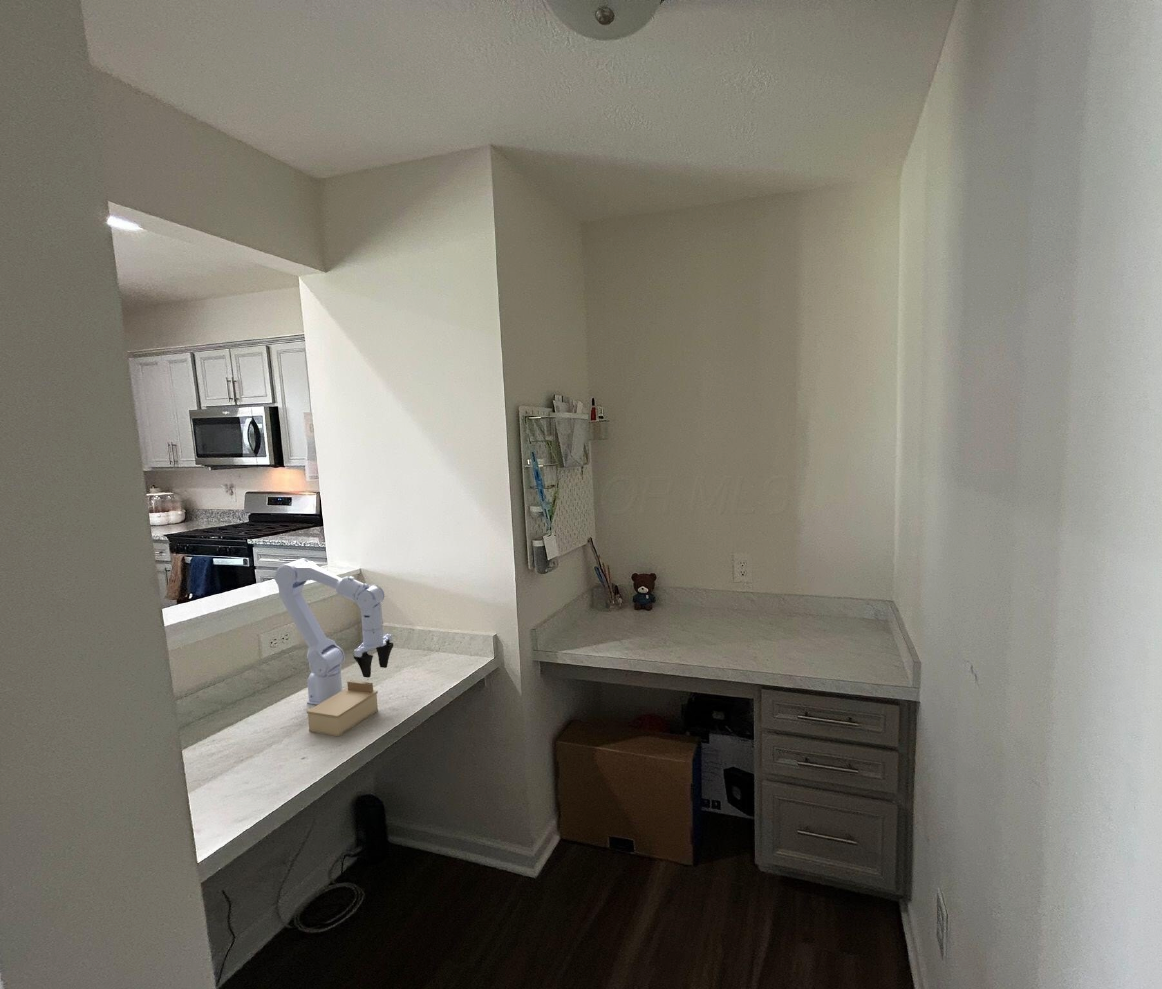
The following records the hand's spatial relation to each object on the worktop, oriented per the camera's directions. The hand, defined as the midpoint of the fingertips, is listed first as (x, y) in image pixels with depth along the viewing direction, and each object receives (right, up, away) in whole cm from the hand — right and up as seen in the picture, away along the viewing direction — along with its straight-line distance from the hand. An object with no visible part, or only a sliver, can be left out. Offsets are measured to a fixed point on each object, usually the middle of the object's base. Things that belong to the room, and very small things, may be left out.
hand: (375, 672), depth 187 cm
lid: (-5, -6, -11) cm, 13 cm away
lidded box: (-5, -11, -10) cm, 16 cm away
